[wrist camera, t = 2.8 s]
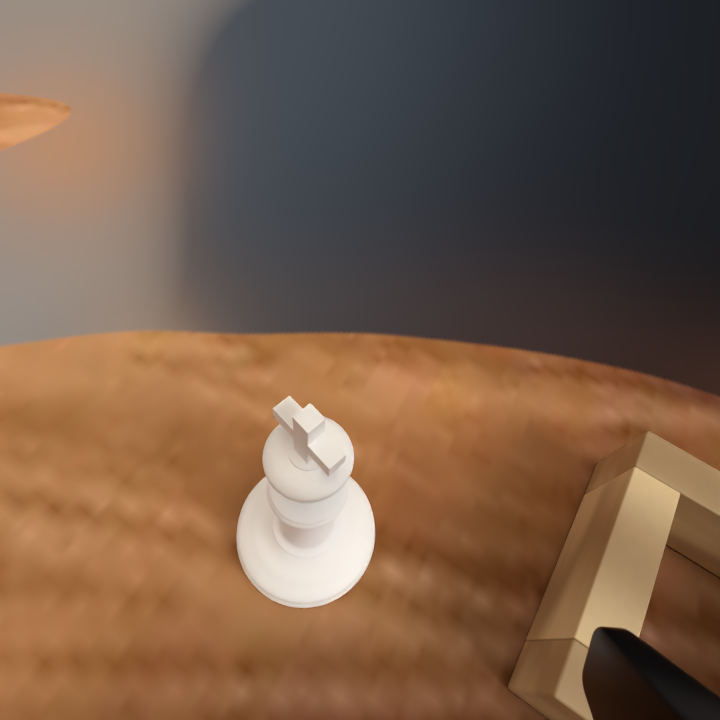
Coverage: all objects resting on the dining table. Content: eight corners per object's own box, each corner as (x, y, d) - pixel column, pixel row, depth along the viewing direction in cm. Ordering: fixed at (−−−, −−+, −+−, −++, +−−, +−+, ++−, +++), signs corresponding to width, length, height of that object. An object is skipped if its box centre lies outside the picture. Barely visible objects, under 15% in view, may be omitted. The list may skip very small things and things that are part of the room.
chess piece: (313, 440, 19) (320, 273, 11) (402, 534, 18) (493, 428, 9) (208, 527, 17) (114, 407, 9) (298, 643, 16) (293, 634, 7)
